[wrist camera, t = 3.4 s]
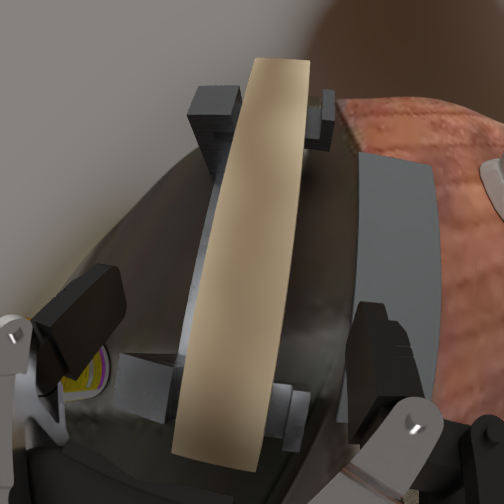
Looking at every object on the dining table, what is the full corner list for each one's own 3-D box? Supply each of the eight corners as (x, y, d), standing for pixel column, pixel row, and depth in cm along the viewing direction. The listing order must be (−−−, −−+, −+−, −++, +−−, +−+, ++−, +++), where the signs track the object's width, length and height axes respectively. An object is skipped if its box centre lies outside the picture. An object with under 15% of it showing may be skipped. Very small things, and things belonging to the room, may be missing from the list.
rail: (307, 102, 20) (310, 60, 16) (262, 444, 13) (255, 472, 10) (260, 99, 20) (255, 57, 17) (196, 431, 14) (171, 453, 10)
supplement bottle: (91, 315, 25) (-14, 283, 13) (124, 377, 23) (16, 383, 11) (50, 350, 24) (-51, 334, 12) (79, 409, 22) (-25, 422, 10)
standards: (321, 171, 27) (334, 90, 18) (292, 410, 21) (299, 452, 11) (222, 162, 29) (197, 84, 19) (175, 388, 22) (110, 406, 13)
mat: (429, 169, 26) (431, 166, 26) (423, 421, 19) (426, 422, 19) (357, 155, 27) (358, 151, 27) (335, 420, 20) (336, 422, 20)
